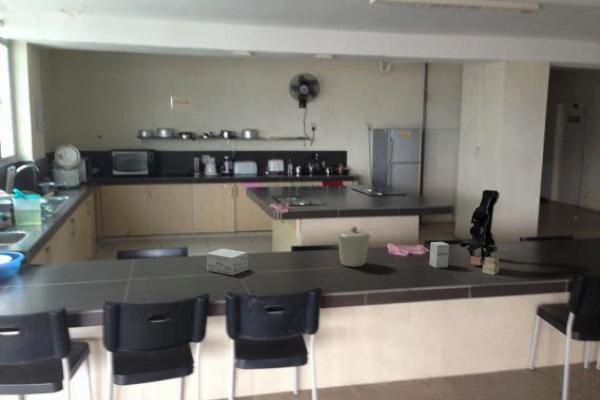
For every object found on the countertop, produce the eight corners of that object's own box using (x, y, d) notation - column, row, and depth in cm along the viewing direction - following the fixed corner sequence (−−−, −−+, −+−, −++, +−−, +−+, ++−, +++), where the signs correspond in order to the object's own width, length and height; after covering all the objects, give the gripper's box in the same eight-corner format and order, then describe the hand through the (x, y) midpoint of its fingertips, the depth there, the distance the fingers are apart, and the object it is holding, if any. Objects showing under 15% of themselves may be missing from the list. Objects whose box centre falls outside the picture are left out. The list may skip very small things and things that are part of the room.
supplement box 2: (248, 269, 267) (248, 252, 266) (232, 275, 256) (232, 257, 255) (222, 264, 276) (222, 247, 274) (206, 270, 264) (206, 252, 263)
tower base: (487, 270, 273) (487, 262, 273) (498, 272, 269) (499, 265, 269) (482, 272, 269) (482, 265, 268) (493, 274, 265) (494, 267, 264)
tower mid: (489, 263, 272) (489, 256, 271) (498, 265, 268) (498, 257, 268) (484, 265, 269) (485, 257, 268) (493, 267, 265) (494, 259, 264)
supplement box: (436, 268, 275) (437, 245, 273) (429, 264, 282) (430, 241, 280) (448, 267, 277) (449, 244, 275) (441, 263, 284) (442, 241, 282)
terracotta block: (474, 261, 283) (475, 254, 283) (483, 263, 280) (484, 256, 279) (470, 263, 280) (471, 256, 279) (479, 265, 276) (480, 258, 276)
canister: (368, 270, 269) (369, 230, 266) (333, 267, 272) (334, 228, 269) (370, 261, 286) (371, 224, 283) (338, 259, 290) (339, 222, 287)
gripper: (456, 233, 278) (454, 261, 280) (490, 238, 265) (487, 268, 268) (465, 230, 286) (463, 257, 288) (498, 235, 273) (496, 263, 276)
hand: (477, 261), depth 280 cm, fingers closed on terracotta block, 5 cm apart
